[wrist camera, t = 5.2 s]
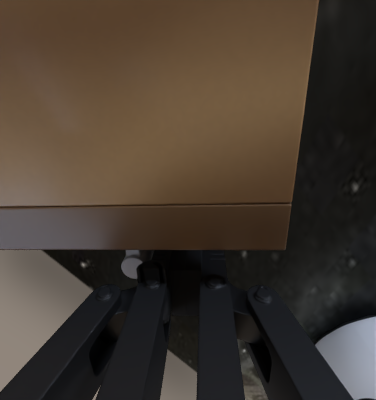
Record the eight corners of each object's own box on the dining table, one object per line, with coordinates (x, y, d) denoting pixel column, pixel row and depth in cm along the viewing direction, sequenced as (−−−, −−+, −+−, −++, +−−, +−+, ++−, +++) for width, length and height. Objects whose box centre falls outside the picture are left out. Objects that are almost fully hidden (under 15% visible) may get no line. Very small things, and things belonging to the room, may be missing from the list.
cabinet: (-42, -21, 17) (-690, -350, 5) (245, -48, 15) (410, -657, 3) (19, 169, 22) (-209, 250, 10) (237, 163, 20) (285, 251, 8)
